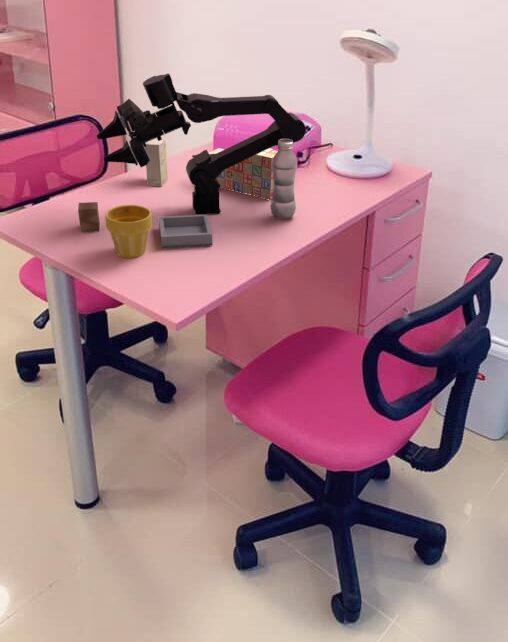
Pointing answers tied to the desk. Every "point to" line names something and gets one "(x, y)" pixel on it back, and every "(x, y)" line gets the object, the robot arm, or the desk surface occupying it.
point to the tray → (185, 231)
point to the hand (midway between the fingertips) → (100, 148)
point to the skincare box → (156, 162)
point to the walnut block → (88, 217)
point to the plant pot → (129, 229)
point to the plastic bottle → (284, 180)
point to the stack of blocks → (250, 175)
